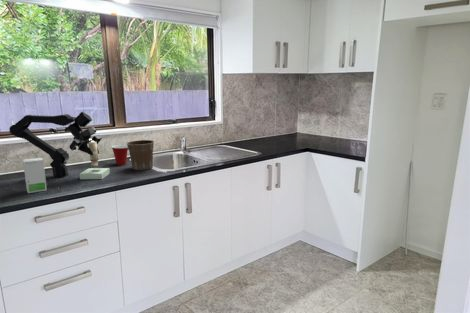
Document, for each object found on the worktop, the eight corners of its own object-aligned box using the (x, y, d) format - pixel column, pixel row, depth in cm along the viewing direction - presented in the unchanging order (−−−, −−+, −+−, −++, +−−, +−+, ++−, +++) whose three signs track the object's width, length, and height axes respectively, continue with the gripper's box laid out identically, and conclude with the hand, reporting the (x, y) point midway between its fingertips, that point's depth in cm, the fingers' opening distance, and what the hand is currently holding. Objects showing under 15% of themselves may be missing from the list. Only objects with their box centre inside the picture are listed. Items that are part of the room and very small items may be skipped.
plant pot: (123, 171, 195) (121, 144, 191) (135, 164, 210) (133, 139, 207) (149, 171, 192) (148, 144, 189) (159, 165, 208) (158, 140, 205)
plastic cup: (132, 164, 210) (131, 146, 208) (115, 166, 204) (113, 148, 202) (127, 161, 219) (126, 143, 216) (111, 163, 213) (109, 145, 211)
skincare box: (27, 193, 156) (22, 161, 152) (26, 190, 161) (21, 159, 157) (47, 190, 160) (43, 159, 157) (46, 187, 166) (41, 157, 162)
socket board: (80, 179, 178) (79, 174, 178) (89, 173, 190) (88, 168, 189) (102, 178, 179) (101, 173, 178) (109, 173, 190) (109, 168, 190)
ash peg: (89, 166, 179) (87, 142, 176) (92, 164, 183) (90, 141, 180) (97, 166, 178) (94, 143, 176) (100, 164, 183) (98, 141, 180)
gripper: (71, 125, 168) (90, 147, 167) (97, 121, 185) (115, 141, 184) (61, 139, 173) (79, 161, 171) (88, 134, 190) (105, 154, 188)
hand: (95, 154), depth 179 cm, fingers closed on ash peg, 4 cm apart
